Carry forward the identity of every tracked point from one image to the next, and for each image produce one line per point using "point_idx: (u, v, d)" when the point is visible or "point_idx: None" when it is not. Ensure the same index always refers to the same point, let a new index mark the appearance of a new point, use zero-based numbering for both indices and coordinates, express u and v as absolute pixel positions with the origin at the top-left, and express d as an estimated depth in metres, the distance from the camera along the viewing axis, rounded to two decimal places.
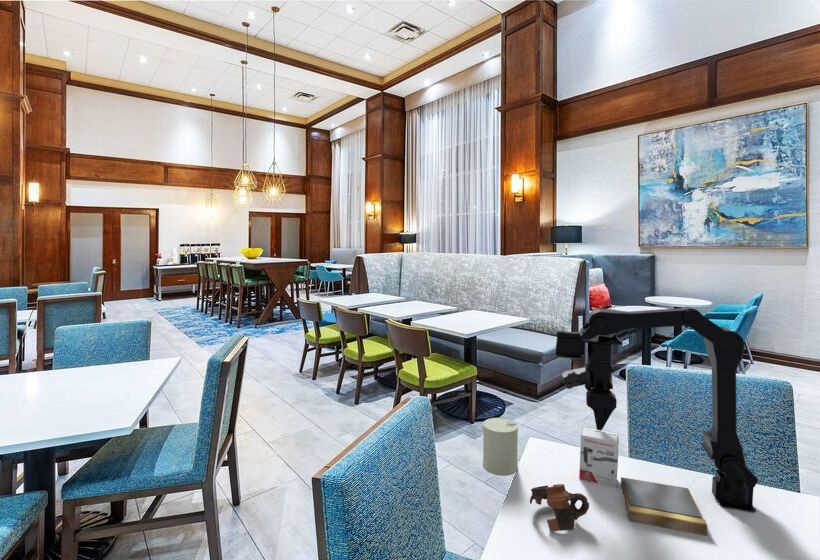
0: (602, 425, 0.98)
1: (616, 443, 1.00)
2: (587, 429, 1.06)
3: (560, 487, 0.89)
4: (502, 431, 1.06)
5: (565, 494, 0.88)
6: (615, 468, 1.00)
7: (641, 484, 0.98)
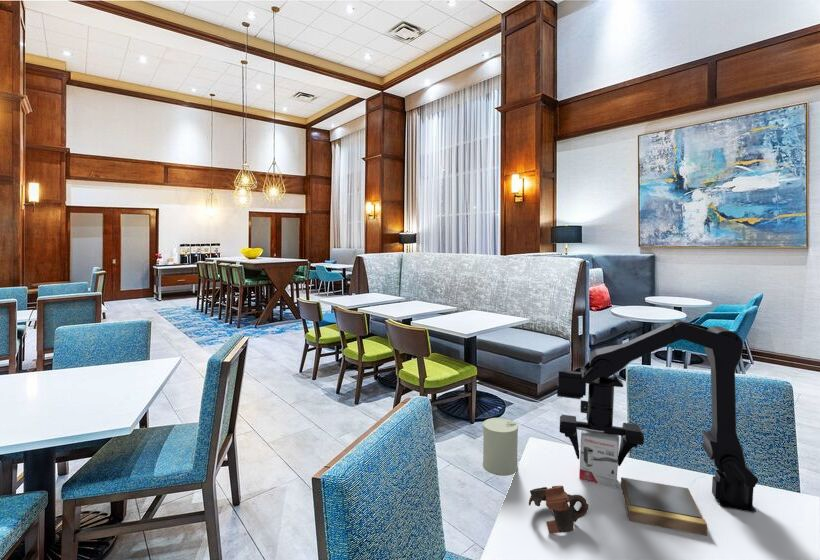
0: None
1: (616, 443, 1.00)
2: None
3: (559, 489, 0.89)
4: (502, 431, 1.06)
5: (564, 496, 0.88)
6: (615, 468, 1.00)
7: (641, 484, 0.98)
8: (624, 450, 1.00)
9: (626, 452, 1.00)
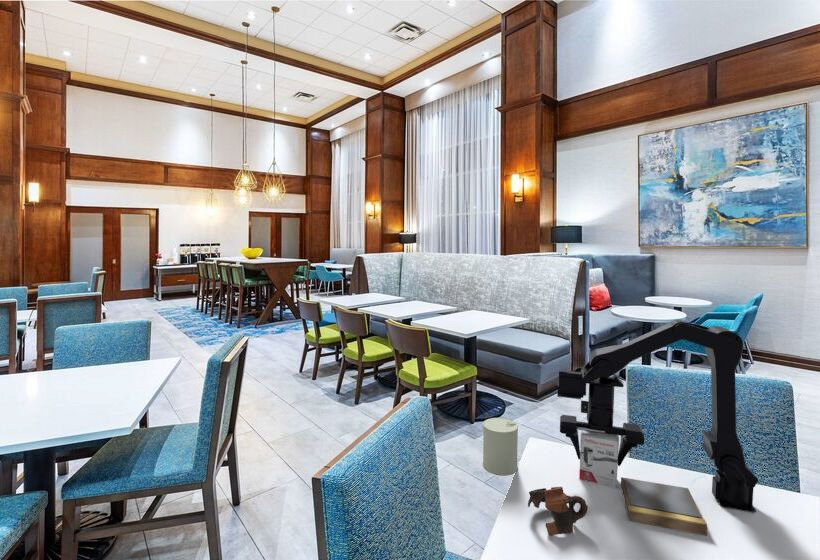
0: (576, 453, 1.05)
1: (616, 443, 1.00)
2: None
3: (558, 490, 0.88)
4: (502, 431, 1.06)
5: (563, 497, 0.87)
6: (615, 468, 1.00)
7: (641, 484, 0.98)
8: (624, 450, 1.00)
9: (626, 452, 1.00)
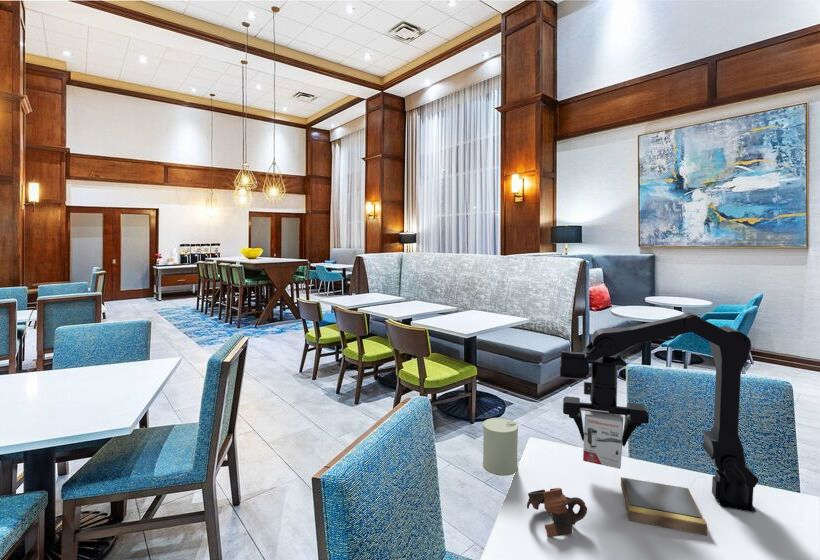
0: None
1: (621, 423, 0.99)
2: None
3: (557, 491, 0.88)
4: (502, 431, 1.06)
5: (563, 498, 0.87)
6: (619, 449, 0.99)
7: (641, 484, 0.98)
8: (628, 430, 0.99)
9: (630, 431, 0.99)
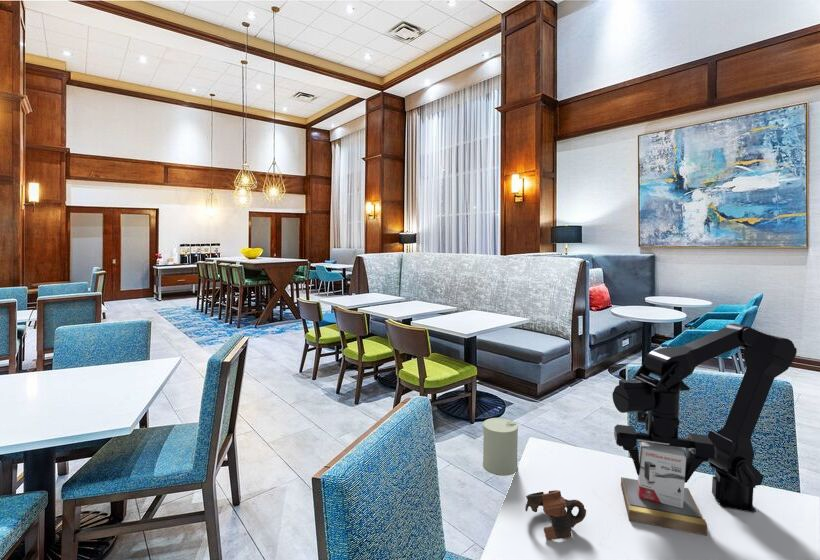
0: (635, 468, 0.93)
1: (684, 458, 0.88)
2: None
3: (556, 494, 0.87)
4: (502, 431, 1.06)
5: (561, 501, 0.86)
6: (682, 486, 0.88)
7: None
8: (692, 465, 0.88)
9: (695, 467, 0.88)
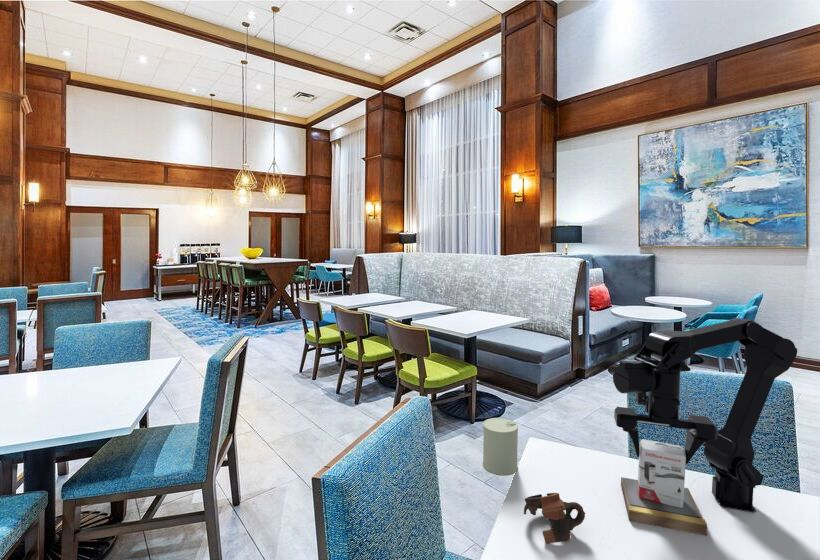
0: (635, 450, 0.93)
1: (684, 458, 0.88)
2: (646, 441, 0.94)
3: (555, 496, 0.86)
4: (502, 431, 1.06)
5: (560, 503, 0.85)
6: (682, 486, 0.88)
7: None
8: (693, 446, 0.88)
9: (696, 448, 0.87)
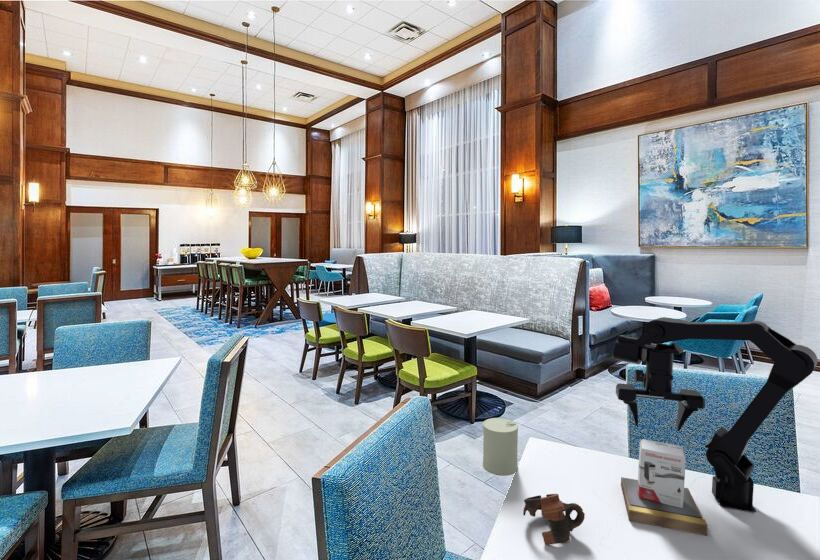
0: (634, 420, 1.07)
1: (684, 458, 0.88)
2: (646, 441, 0.94)
3: (554, 497, 0.86)
4: (502, 431, 1.06)
5: (560, 505, 0.85)
6: (682, 486, 0.88)
7: None
8: (684, 415, 1.02)
9: (686, 417, 1.01)
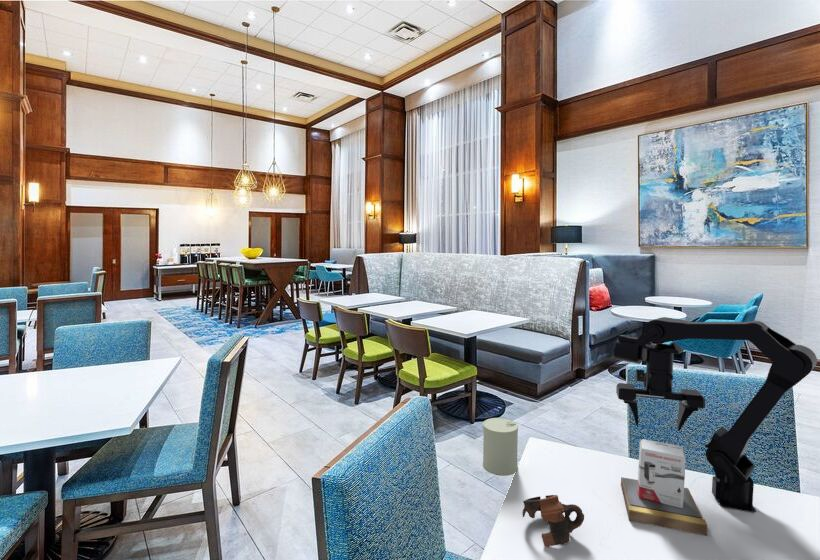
0: None
1: (684, 458, 0.88)
2: (646, 441, 0.94)
3: (554, 499, 0.85)
4: (502, 431, 1.06)
5: (559, 506, 0.84)
6: (682, 486, 0.88)
7: None
8: (684, 415, 1.02)
9: (687, 416, 1.02)
